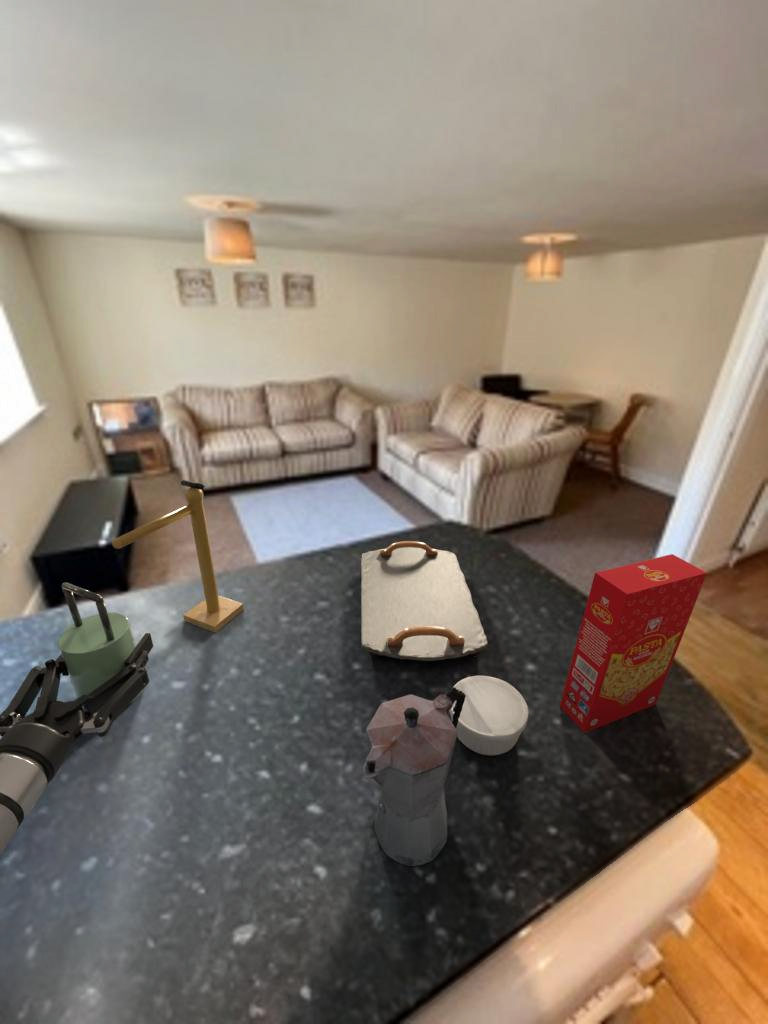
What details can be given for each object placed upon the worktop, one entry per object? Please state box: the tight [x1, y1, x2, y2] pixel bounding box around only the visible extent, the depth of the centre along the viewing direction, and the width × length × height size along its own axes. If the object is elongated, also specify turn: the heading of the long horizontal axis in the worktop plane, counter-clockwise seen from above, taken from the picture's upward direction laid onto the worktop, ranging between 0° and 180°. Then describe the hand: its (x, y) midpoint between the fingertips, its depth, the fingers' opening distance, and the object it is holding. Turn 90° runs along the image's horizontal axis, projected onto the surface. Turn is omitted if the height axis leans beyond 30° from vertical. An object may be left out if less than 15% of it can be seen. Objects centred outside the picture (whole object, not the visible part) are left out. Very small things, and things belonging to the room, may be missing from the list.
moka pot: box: [362, 686, 466, 867], centre depth 50 cm, size 10×15×20 cm, turn 137°
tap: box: [111, 479, 245, 634], centre depth 78 cm, size 8×20×28 cm, turn 156°
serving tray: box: [360, 540, 489, 662], centre depth 93 cm, size 39×23×6 cm, turn 3°
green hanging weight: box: [57, 582, 144, 713], centre depth 67 cm, size 9×9×20 cm
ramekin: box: [448, 675, 529, 756], centre depth 66 cm, size 11×11×5 cm
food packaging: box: [559, 553, 708, 734], centre depth 66 cm, size 15×5×25 cm, turn 112°
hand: (119, 639), depth 72 cm, fingers closed on green hanging weight, 9 cm apart
